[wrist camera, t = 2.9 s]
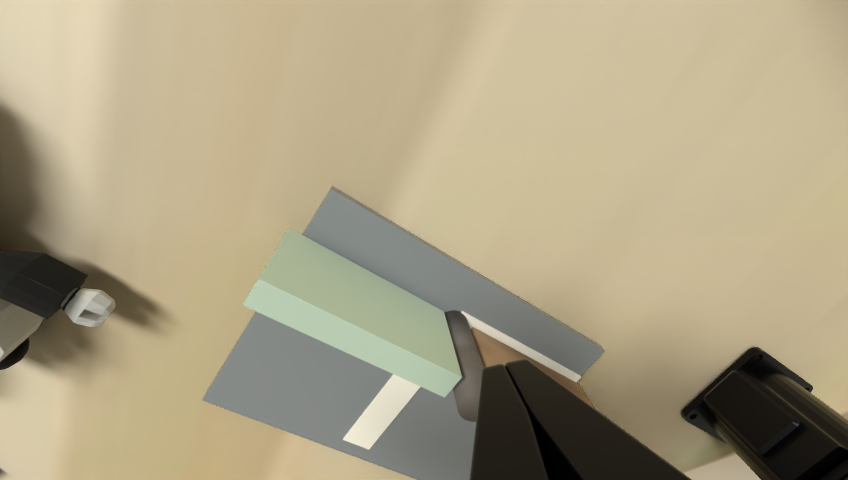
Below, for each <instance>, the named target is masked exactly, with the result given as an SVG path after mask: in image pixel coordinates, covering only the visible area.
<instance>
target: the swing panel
mask: <svg viewBox="0 0 848 480" xmlns="http://www.w3.org/2000/svg"><path fill="white" fill-rule="evenodd" d="M243 306H245V307H248V308H250V309H252V310H254V311H256V312H258V313H261V314H263V315H265V316H267V317H269V318H272V319H274V320H276V321H278V322H280V323H283V324H285V325H287V326H289V327H291V328H294V329H296V330H298V331H300V332H302V333H304V334H307V335H309V336H311V337H313V338H315V339H318V340H320V341H322V342H324V343H326V344H329V345H331V346H333V347H335V348H337V349H339V350H342V351H344V352H346V353H348V354H350V355H353V356H355V357H357V358H359V359H361V360H364V361H366V362H368V363H370V364H372V365H375V366H377V367H379V368H381V369H383V370H385V371H388V372H390V373H392V374H394V375H396V376H399V377H401V378H403V379H405V380H407V381H410V382H412V383H414V384H416V385H418V386H420V387H423V388H425V389H427V390H429V391H431V392H434V393H436V394H438V395H440V396H442V397H446V396H447V394H448V393H449V392H450V391H451V390H452V389H453V387H454V386H455V385H456V384H457V383H458V382H459V380H460V379H461V378H462V375H461V371H460V368H459V364H458V361H457V357H456V353H455V350H454V346H453V343H452V339H451V335H450V332H449V328H448V324H447V321H446V317H445V314H444V311H443V310H441V309H439V308H437V307H435V306H433V305H432V304H430V303H428V302H426V301H424V300H422V299H420V298H419V297H417V296H415V295H413V294H411V293H409V292H407V291H406V290H404V289H402V288H400V287H398V286H396V285H394V284H393V283H391V282H389V281H387V280H385V279H383V278H381V277H380V276H378V275H376V274H374V273H372V272H370V271H368V270H367V269H365V268H363V267H361V266H359V265H357V264H355V263H354V262H352V261H350V260H348V259H346V258H344V257H342V256H341V255H339V254H337V253H335V252H333V251H331V250H329V249H328V248H326V247H324V246H322V245H320V244H318V243H317V242H315V241H313V240H311V239H309V238H307V237H305V236H304V235H302V234H300V233H298V232H296V231H294V230H292V229H291V228H288V230H287V232H286V233H285V235H284V237H283V238H282V240H281V242H280V243H279V245H278V247H277V248H276V250H275V252H274V253H273V255H272V257H271V259H270V260H269V262H268V264H267V265H266V267H265V269H264V270H263V272H262V274H261V275H260V277H259V279H258V280H257V282H256V284H255V285H254V287H253V289H252V290H251V292H250V294H249V295H248V297H247V299H246V300H245V302H244V304H243Z"/></svg>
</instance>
